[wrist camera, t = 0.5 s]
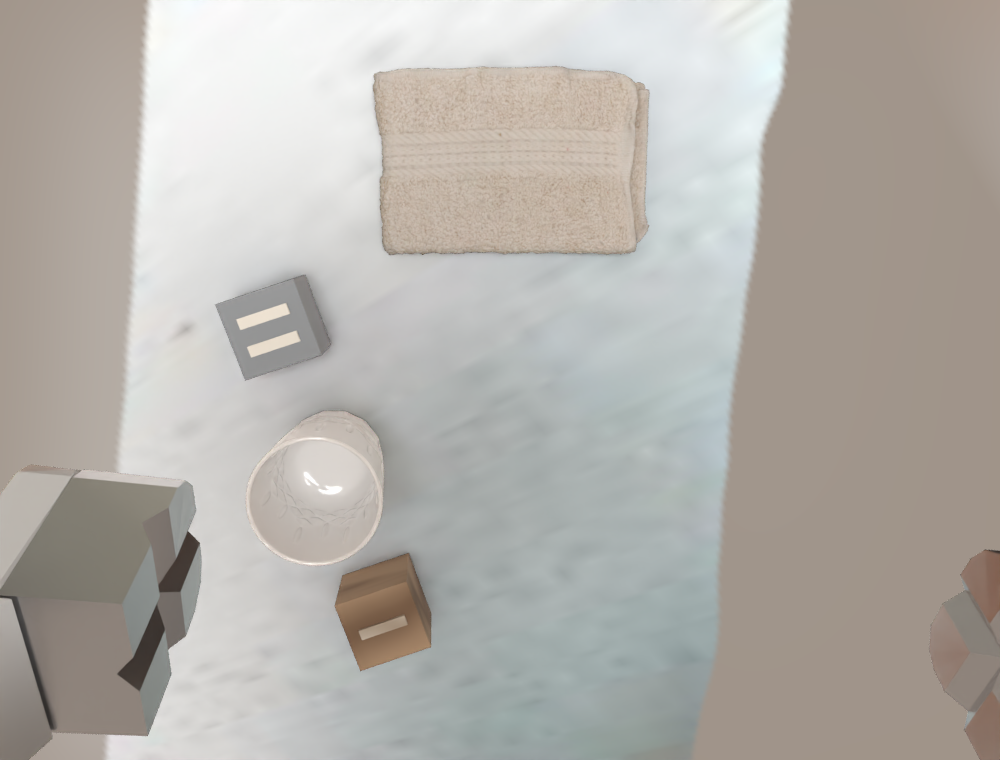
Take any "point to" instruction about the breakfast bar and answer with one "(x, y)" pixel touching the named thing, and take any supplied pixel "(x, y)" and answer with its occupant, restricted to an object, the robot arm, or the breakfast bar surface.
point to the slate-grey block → (274, 327)
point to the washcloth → (512, 160)
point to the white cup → (318, 490)
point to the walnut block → (384, 612)
